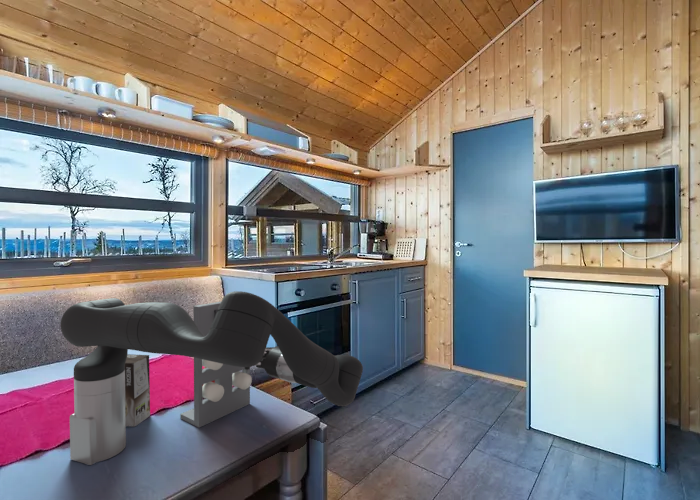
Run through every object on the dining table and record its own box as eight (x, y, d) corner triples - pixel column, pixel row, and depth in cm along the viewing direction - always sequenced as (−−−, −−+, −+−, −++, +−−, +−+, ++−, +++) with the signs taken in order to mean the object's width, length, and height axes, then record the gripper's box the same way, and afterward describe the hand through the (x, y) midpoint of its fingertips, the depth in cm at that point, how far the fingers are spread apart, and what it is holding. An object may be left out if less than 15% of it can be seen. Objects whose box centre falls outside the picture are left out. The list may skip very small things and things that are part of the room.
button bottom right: (251, 386, 102) (251, 372, 102) (240, 391, 99) (239, 376, 98) (242, 383, 104) (242, 369, 104) (230, 388, 101) (230, 373, 101)
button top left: (224, 367, 94) (224, 351, 94) (210, 372, 91) (210, 356, 91) (214, 364, 96) (214, 349, 96) (200, 368, 93) (200, 352, 93)
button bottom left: (224, 398, 94) (224, 383, 94) (210, 404, 91) (210, 388, 91) (214, 394, 97) (214, 379, 96) (200, 400, 93) (200, 384, 93)
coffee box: (151, 415, 98) (150, 354, 97) (134, 427, 91) (134, 363, 91) (119, 413, 99) (118, 353, 98) (100, 425, 92) (99, 361, 92)
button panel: (251, 404, 104) (251, 298, 103) (200, 428, 91) (199, 307, 90) (231, 396, 109) (231, 295, 108) (180, 418, 96) (179, 303, 95)
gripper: (306, 343, 96) (260, 332, 106) (268, 356, 85) (221, 343, 95) (306, 371, 97) (260, 358, 106) (268, 388, 86) (221, 372, 95)
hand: (241, 351), depth 101 cm, fingers closed
